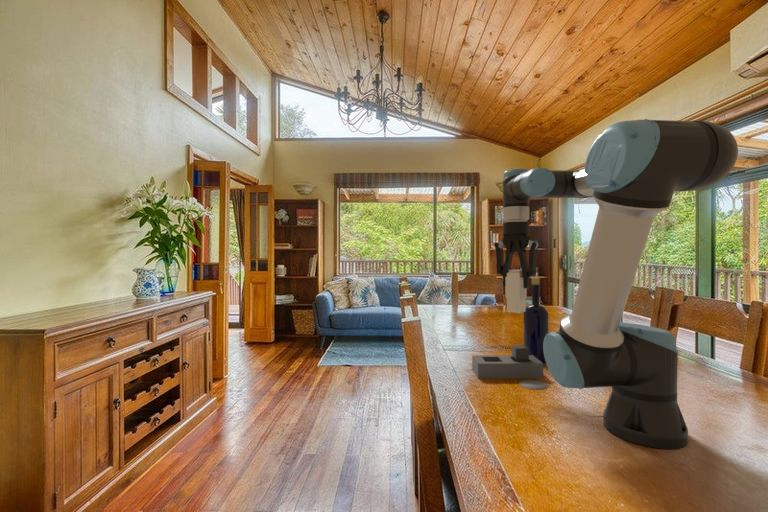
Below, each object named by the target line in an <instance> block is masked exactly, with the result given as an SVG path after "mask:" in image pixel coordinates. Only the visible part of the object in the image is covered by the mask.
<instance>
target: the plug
mask: <svg viewBox="0 0 768 512" xmlns="http://www.w3.org/2000/svg"><path fill="white" fill-rule="evenodd" d="M522 276H523V275H522V269H510V270H509V273H507V298H506V312H507V313H514V314H524V312H525V309H526V299H523V300H522V299H520V278H522Z"/></svg>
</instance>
